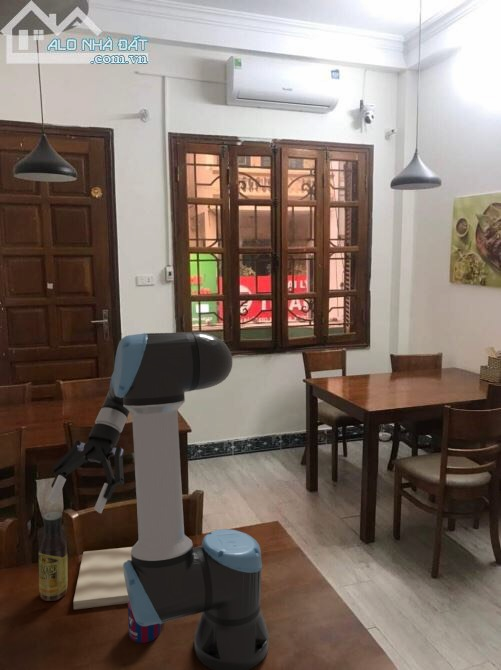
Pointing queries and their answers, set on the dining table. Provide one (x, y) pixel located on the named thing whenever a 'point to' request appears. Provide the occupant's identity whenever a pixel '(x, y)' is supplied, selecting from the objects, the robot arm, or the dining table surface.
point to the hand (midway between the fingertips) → (73, 506)
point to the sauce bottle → (53, 559)
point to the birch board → (102, 578)
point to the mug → (141, 629)
